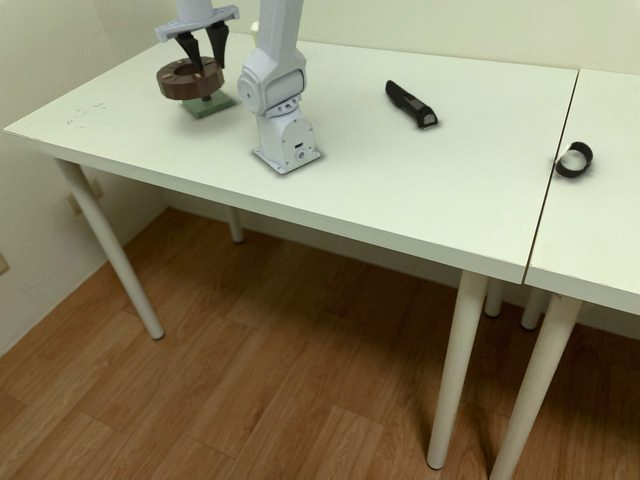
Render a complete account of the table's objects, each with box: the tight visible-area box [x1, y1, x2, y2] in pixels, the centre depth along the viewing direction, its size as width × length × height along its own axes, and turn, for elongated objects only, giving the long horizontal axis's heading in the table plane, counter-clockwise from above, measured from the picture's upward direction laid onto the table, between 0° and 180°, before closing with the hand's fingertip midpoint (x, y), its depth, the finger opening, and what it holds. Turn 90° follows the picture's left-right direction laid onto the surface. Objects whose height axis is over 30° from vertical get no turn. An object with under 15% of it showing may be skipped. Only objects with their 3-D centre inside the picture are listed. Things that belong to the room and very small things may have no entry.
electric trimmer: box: [384, 79, 439, 130], centre depth 87 cm, size 4×16×3 cm, turn 21°
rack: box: [181, 89, 234, 119], centre depth 95 cm, size 8×8×7 cm
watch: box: [554, 141, 594, 179], centre depth 69 cm, size 8×5×4 cm, turn 140°
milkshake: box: [250, 20, 259, 48], centre depth 107 cm, size 4×5×10 cm
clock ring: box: [155, 55, 226, 101], centre depth 82 cm, size 11×11×3 cm
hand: (211, 70), depth 84 cm, fingers closed on clock ring, 3 cm apart
